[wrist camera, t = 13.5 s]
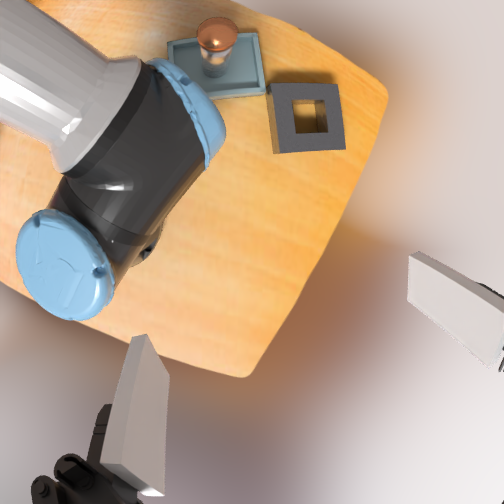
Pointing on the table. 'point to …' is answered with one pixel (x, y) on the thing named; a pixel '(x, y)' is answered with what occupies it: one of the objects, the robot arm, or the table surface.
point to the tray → (237, 76)
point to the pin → (216, 45)
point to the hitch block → (326, 114)
